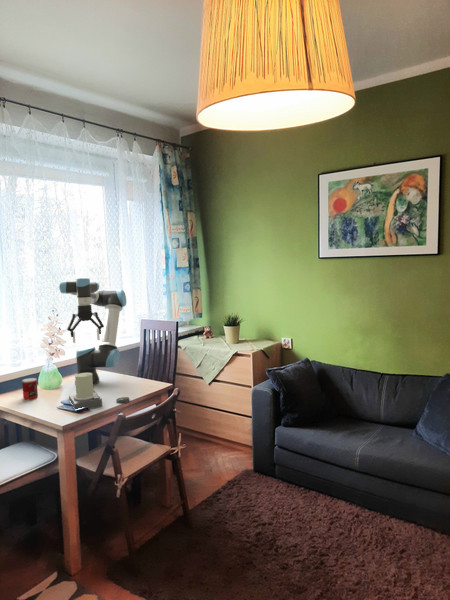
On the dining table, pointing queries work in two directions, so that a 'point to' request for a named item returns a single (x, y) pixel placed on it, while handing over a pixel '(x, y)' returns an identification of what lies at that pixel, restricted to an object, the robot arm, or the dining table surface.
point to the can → (84, 385)
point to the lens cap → (122, 400)
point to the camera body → (86, 401)
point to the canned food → (30, 388)
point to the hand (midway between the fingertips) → (86, 341)
